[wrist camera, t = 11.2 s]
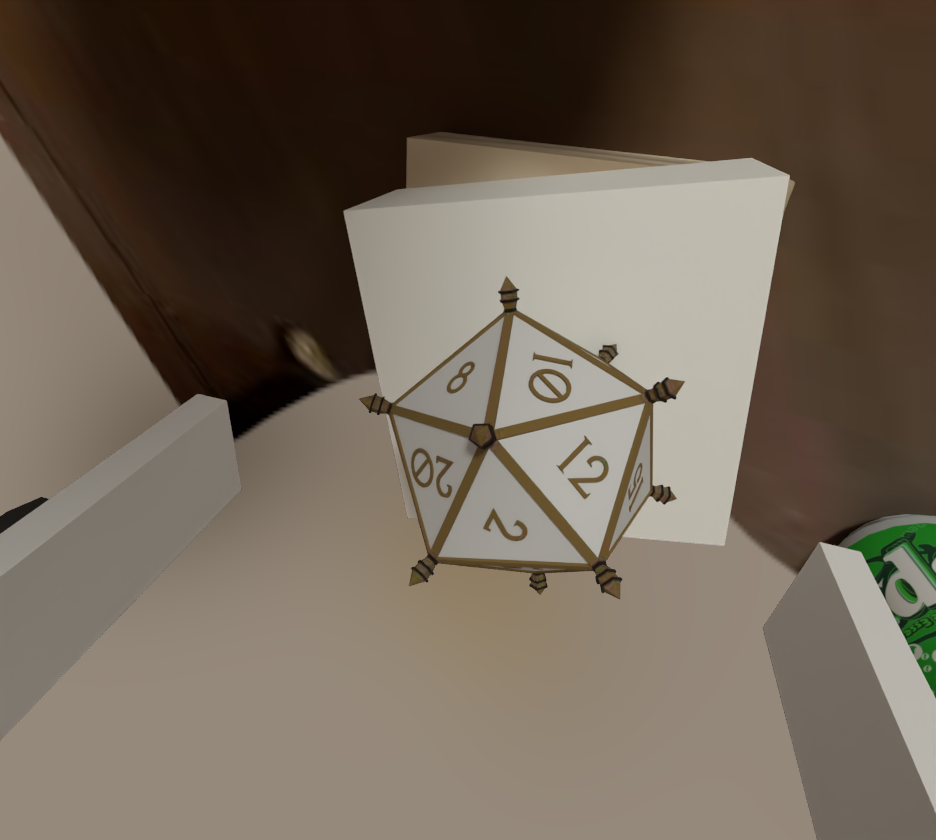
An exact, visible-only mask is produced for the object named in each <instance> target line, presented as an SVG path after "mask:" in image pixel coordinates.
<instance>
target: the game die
mask: <svg viewBox="0 0 936 840" xmlns="http://www.w3.org/2000/svg"><path fill="white" fill-rule="evenodd" d="M517 291H519V289H517V288H516V287H515V286H514V285H513V283H512V282H511V281H510V280H509V278H508V277H507V276H506V277H505V280H504V282H503V285H502V287H501V290H500V291H498V293H499V294H500V295H501V300H500V302H501V303H502V304H503V307H504V312H503V313H502V314H500V315H499V316H498V317H497V318H495V319H494V320H493V321H492V322H491V323H489V324H488V325H487V326H486V327H485V328H483V329H482V330H481V331H480V332H478V333H477V334H476V335H475V336H474V337H472V338H471V339H470V340H469V341H468V342H466V343H465V344H464V345H463V346H461V347H460V348H459V349H458V350H457V351H455V352H454V353H453V354H452V355H451V356H449V357H448V358H447V359H446V360H444V361H443V362H442V363H441V364H440V365H438V366H437V367H436V368H435V369H434V370H432V371H431V372H430V373H429V374H427V375H426V376H425V377H424V378H423V379H421V380H420V381H419V382H418V383H417V384H415V385H414V386H413V387H412V388H410V389H409V390H408V391H407V392H406V393H404V394H403V395H402V396H401V397H400V398H398V399H397V400H396V401H395V402H393V403H391V402H389V401H387V400H386V399H384V398H385V397H384V396H383V397H382V398H381V397H379V396H377V394H375V395H373V396H369V397H364V398H360V400H361V402H362V403H363V404H364V405H365V406H366V407H367V408H368V410H369V413H371V411H372V412H376V413H377V415H379V414H380V413H386V414H388V415H389V417H390V420H391V424H392V428H393V431H394V435H395V438H396V442H397V445H398V449H399V453H400V456H401V460H402V463H403V467H404V470H405V474H406V478H407V481H408V485H409V488H410V492H411V495H412V499H413V503H414V506H415V510H416V513H417V517H418V520H419V524H420V528H421V531H422V535H423V538H424V542H425V545H426V549H427V553H428V556H427V557H426V558H425V559H423V560H422V561H421V560H419V561H418V564H417V565H416V566H415V567H412V568H411V569H412V575H411V579H410V583H409V586H411V585H415V584H418V583H421V582H425V581H426V582H428V580H427V579H428V578H429V576H430V575H431V574H432V575H433V574H434V573H433V570H434V568H435V565H437V564H438V563H441V564H450V565H460V566H469V567H479V568H488V569H498V570H507V571H516V572H526V573H532V576H531V577H530V579H529V580H530V581H531V584H530V587H532V588H534V589H535V590H536V591H537V592H538V593H539V594H541V593H542V592H543V590H544V589H545V588H547V583H546V577H545V574H544V573H556V572H577V571H594V572H595V573H596V582H597V584H600V586H601V591H602V593H604V592H606V593H608V594H610V595H612V596H614V597H616V598H618V599H620V582H621V581H622V578H619V577H617V575H616V574H615V573H616V570H614V569H611V568H609V567H608V566H607V565H606V560H607V559H608V557H609V556H610V554H611V553H612V551H613V550H614V548H615V547H616V545H617V543H618V542H619V541H620V539H621V538H622V536H623V535H624V533H625V532H626V530H627V529H628V527H629V526H630V524H631V523H632V521H633V520H634V518H635V517H636V515H637V514H638V512H639V511H640V509H641V508H642V506H643V505H644V504H645V502H646V501H647V499H648V498H649V496H650V497H653V498H654V499H655V501H656V502H659V501H660V502H662V503H663V504H664V505H665V504H666V503H667V502H670V501H673V500H676V499H677V498H676V497H675V495H674V494H673V492H672V491H671V489H670V487H669V486H668V487H663V485H659V486H654V485H653V404H654V403H655V402H659V401H662V402H664V403H666V402H667V400H668V399H671V398H672V399H674V400H675V399H676V395H677V394H678V392H679V390H680V389H681V387H682V386H683V384H684V383H685V381H680V380H673V379H669V378H668V377H666V378H665V379H664V380H663V381H662V382H659V381H658V382H657V383H656V384H654V385H653V388H652V389H649V390H647V389H645V388H644V387H642V386H641V385H640V384H638V383H637V382H635V381H634V380H632V379H631V378H629V377H628V376H627V375H625V374H624V373H622V372H621V371H619V370H618V369H616V368H615V367H614V366H612V365H611V364H609V363H610V362H611V361H612V360H613V359H614V358H615V357H616V356H617V355H618V353H617V344H613V345H603V349H602V350H599V356H597V355H595V354H593V353H591V352H590V351H588V350H586V349H584V348H582V347H581V346H579V345H577V344H575V343H574V342H572V341H570V340H568V339H567V338H565V337H563V336H561V335H560V334H558V333H556V332H554V331H553V330H551V329H549V328H547V327H546V326H544V325H542V324H540V323H539V322H537V321H535V320H533V319H532V318H530V317H528V316H526V315H524V314H523V313H521V312H519V311H517V308H516V305H517V300H519V298H518V297H517Z"/></svg>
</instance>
